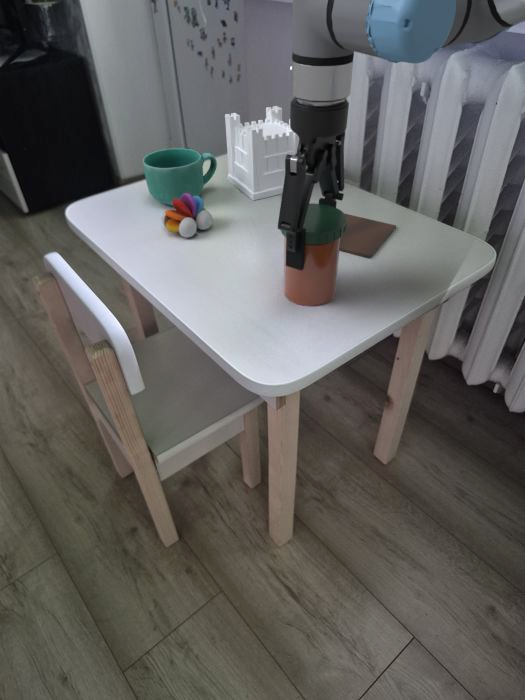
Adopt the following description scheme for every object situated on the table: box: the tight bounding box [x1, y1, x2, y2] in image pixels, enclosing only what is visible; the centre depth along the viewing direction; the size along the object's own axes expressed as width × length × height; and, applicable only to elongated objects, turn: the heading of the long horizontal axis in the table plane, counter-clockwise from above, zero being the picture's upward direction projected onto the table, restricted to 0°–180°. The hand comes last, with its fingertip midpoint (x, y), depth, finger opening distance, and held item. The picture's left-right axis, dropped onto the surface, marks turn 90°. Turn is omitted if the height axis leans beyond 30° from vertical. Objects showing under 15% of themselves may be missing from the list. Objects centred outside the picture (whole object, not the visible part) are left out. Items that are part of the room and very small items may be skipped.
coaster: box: [340, 213, 397, 259], centre depth 96 cm, size 14×14×1 cm
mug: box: [142, 147, 218, 207], centre depth 107 cm, size 17×13×10 cm
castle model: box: [224, 105, 299, 201], centre depth 111 cm, size 14×14×15 cm
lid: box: [280, 202, 347, 245], centre depth 73 cm, size 10×10×2 cm
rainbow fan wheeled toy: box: [161, 193, 214, 238], centre depth 96 cm, size 8×10×7 cm
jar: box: [282, 235, 341, 307], centre depth 77 cm, size 9×9×13 cm
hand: (310, 251), depth 76 cm, fingers closed on lid, 10 cm apart
